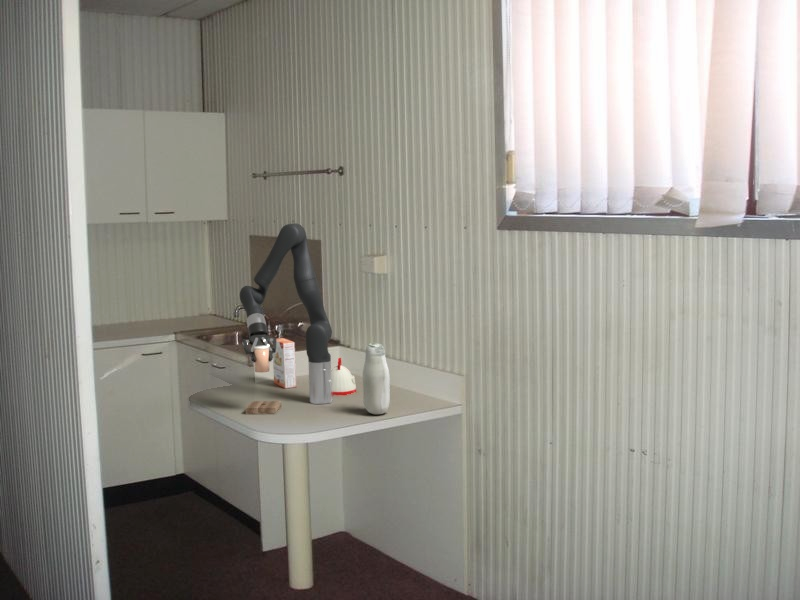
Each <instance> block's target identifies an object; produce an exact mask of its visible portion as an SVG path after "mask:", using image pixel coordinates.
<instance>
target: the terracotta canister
mask: <svg viewBox="0 0 800 600" xmlns="http://www.w3.org/2000/svg"><path fill="white" fill-rule="evenodd" d="M269 346H270V345H269ZM269 346H268V345H259V346H254V353H255V362H254V372H255V373H268V372H270V362H269Z"/></svg>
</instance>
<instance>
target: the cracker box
mask: <svg viewBox="0 0 800 600" xmlns="http://www.w3.org/2000/svg"><path fill="white" fill-rule="evenodd" d="M295 344H296V342H294V341H292V340H290V339H288V338H284V337H280V338H279V337H278V338H277V337H276V352H275V353H272V355H273V359H272V363H273V364H272V365H273V366H272V368H273V384H275V385H277V386H279V387H282V388H283V389H285V390H287V389H291V388H292V389H294V388H297V374H296V373H297V372H296V371H297V370H296V366H297V365H296V345H295ZM271 346H272V347H273V344H272V345H271Z"/></svg>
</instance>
